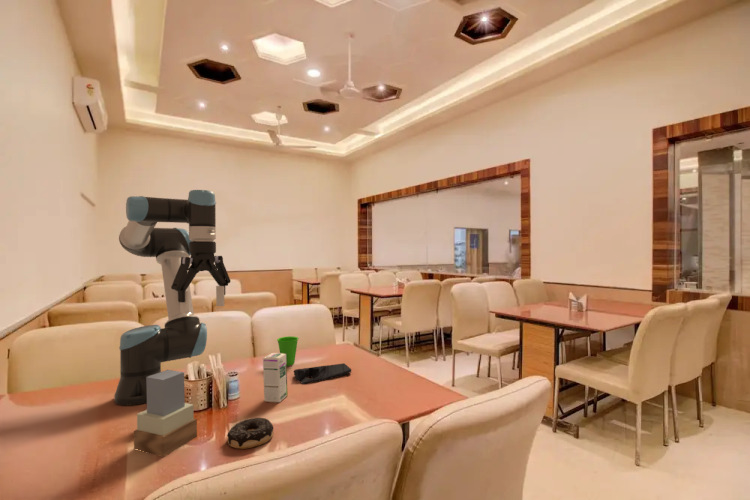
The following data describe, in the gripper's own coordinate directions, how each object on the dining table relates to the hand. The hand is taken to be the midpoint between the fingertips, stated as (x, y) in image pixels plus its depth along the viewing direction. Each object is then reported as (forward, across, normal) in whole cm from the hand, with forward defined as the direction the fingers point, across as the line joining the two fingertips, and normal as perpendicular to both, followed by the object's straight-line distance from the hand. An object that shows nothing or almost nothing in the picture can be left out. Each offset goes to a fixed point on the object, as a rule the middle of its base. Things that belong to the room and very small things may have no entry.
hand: (203, 309), depth 115 cm
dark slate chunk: (+32, +41, -18) cm, 55 cm away
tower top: (+26, -18, -7) cm, 33 cm away
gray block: (+22, -18, -7) cm, 30 cm away
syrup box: (+31, +15, -15) cm, 38 cm away
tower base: (+31, -18, -7) cm, 37 cm away
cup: (+32, +47, +3) cm, 57 cm away
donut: (+31, -9, -26) cm, 42 cm away
